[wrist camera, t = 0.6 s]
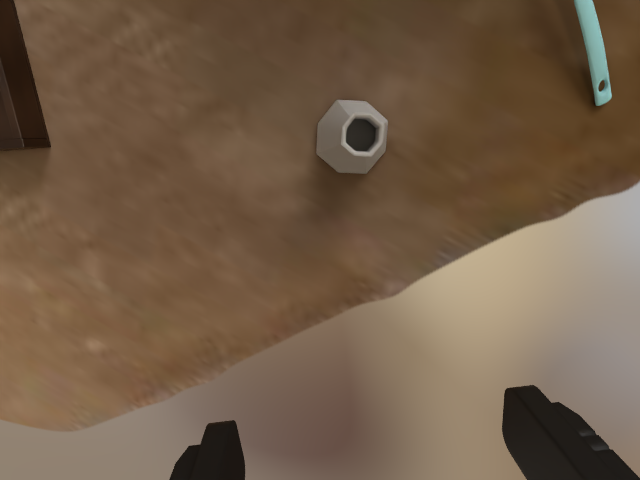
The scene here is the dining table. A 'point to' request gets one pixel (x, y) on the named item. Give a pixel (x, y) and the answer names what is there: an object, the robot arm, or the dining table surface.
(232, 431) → the robot arm
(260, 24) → the dining table surface
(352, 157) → the flask
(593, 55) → the ladle
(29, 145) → the tray
